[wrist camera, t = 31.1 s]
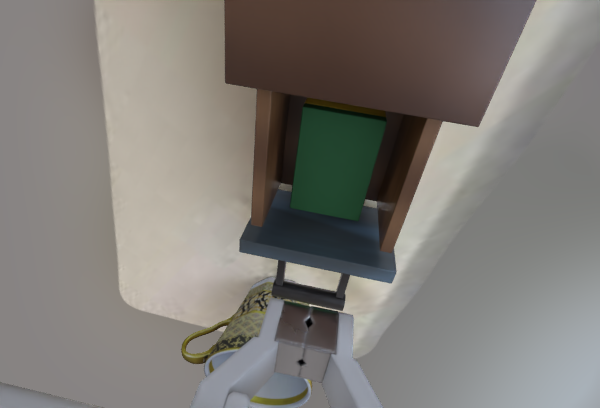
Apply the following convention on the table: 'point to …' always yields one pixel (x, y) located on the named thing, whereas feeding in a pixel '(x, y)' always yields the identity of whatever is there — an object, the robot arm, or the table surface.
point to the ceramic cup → (240, 329)
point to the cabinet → (377, 52)
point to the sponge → (335, 157)
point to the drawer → (322, 228)
